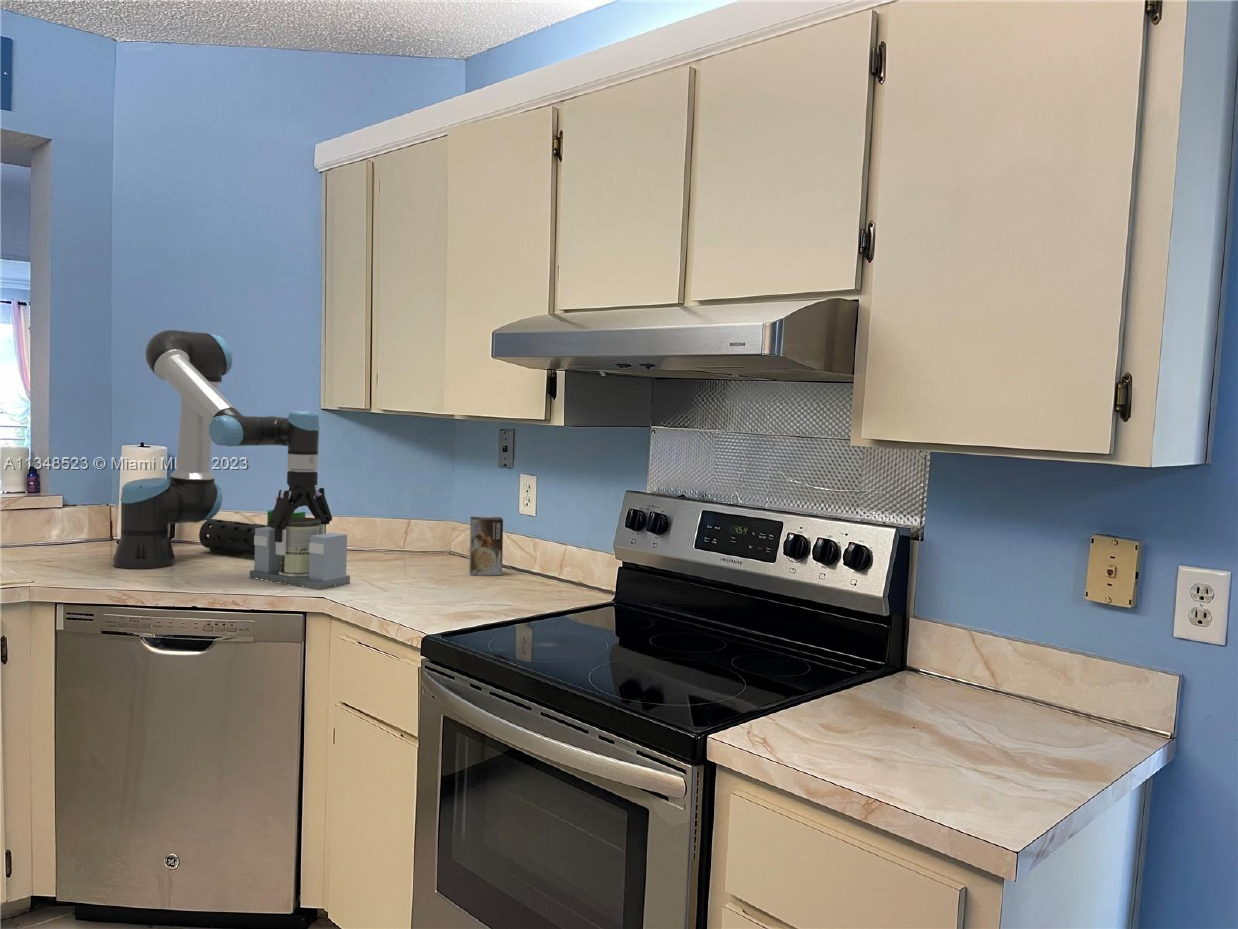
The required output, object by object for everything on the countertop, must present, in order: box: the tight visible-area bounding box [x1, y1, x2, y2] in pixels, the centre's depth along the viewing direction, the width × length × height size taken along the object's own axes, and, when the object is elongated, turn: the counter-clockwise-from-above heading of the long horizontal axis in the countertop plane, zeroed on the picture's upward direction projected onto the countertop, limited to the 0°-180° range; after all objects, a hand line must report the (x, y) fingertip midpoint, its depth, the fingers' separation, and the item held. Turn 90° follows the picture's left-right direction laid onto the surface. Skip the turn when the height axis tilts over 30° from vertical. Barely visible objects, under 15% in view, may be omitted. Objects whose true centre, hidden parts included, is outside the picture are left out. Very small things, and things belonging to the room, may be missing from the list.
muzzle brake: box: [198, 518, 267, 556], centre depth 277 cm, size 10×28×10 cm, turn 68°
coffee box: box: [468, 516, 504, 576], centre depth 267 cm, size 9×6×16 cm
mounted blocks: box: [253, 527, 348, 581], centre depth 244 cm, size 24×8×11 cm, turn 64°
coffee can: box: [279, 517, 321, 577], centre depth 244 cm, size 10×10×14 cm
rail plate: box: [249, 569, 351, 590], centre depth 244 cm, size 24×11×2 cm, turn 64°
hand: (300, 551), depth 244 cm, fingers open, 13 cm apart
